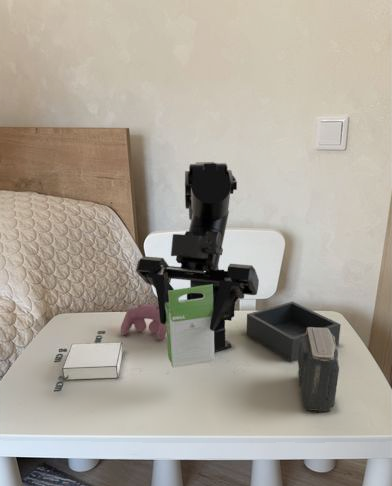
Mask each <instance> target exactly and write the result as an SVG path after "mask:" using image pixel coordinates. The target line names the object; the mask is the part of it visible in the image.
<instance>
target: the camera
mask: <svg viewBox="0 0 392 486" xmlns="http://www.w3.org/2000/svg"><path fill="white" fill-rule="evenodd" d="M297 365H298V371H297V376H298V385H299V388H300V389H299V390H300V395H301V398H302V399H303V401H304V406H305V407H306V409H307V411H310V410H311V411H317V412H320V413H321V412H330V411H333V410H334V409H335V403H336V402H335V401H336V395H337V387H338V379H339V373H340V365H339V350H338V346H336V343H335V337H334V336H333V334H331V332H330V330H329V329H327V328H315V327H308V328H307V329H306V334H305V335H304V336H300V342H299V353H298V360H297Z"/></svg>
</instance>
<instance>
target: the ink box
mask: <svg viewBox="0 0 392 486" xmlns="http://www.w3.org/2000/svg"><path fill="white" fill-rule="evenodd" d="M188 293H202V294H203V295H204V296H203V298H198V299H190V300H187V299H183V300H180V298H181V297H183V296H185V295H186V296H187V294H188ZM168 295H169V302H166V303H165V313H166V330H167V332H166V343H167V344H166V346H167V357H168V360H169V362H170V364H171V368H172V369H174V368H175V369H176V368H179V367H187V366H194V365H198V364H199V365H201V364H205V363H212V362H215V361H216V360H215V359H216V358H215V357H216V356H215V352H214V331H211V330H210V324H211V318H212V314H213V284H211V285H204V286H197V287H183V288H177V289H174V290H169V291H168Z"/></svg>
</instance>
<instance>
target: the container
mask: <svg viewBox="0 0 392 486" xmlns="http://www.w3.org/2000/svg"><path fill="white" fill-rule="evenodd" d="M101 334H102V335H101ZM105 334H107V333H106V330H98V331H97V335H96V336H95V339H94V342H90V343H88V342H87V343H71V345H70V348H69V350H68V349H67V348H59V349H58V353H57V354H56V355H55V358H54V360H53V363H61V362H62V360H63V357H64V355H63V353H67V352H68V353H67V356H66V358H65V361H64V363H63V365H62V369H61V370H62V375H63V376H62V375H59V376H58V380H60V381H57V382H56V384H55V387H54V389H53V392H61V391H62V389H63V387H64V385H65V383H64V382H63V381H78V380H102V379H118V378H119V375H120V370H121V364H122V359H123V354H124V352H123V351H124V350H123V342H122V341H118V342H117V341H115V342H102V339H103V335H105ZM61 379H62V380H63V381H61Z"/></svg>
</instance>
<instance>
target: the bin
mask: <svg viewBox="0 0 392 486" xmlns="http://www.w3.org/2000/svg"><path fill="white" fill-rule="evenodd" d="M308 327H315V328H327V329H329V330H330V332H331V334H333V336H334V337H335V343H336V346H337V347H338V346H339V344H340V343H339V342H340V335H341V334H340V333H341V323H338V322H336V321H335V320H332V319H331V318H328V317H327V316H324V315H322V314H319V313H318V312H315V311H314V310H311V309H309V308H307V307H305V306H304V305H301V304H299V303H297V302H295V301H289V302H286V303H283V304H279V305H275V306H271V307H267V308H264V309H261V310H256V311H252V312H250V313H246V335H247V336H248V337H250V338H251V339H253V340H254V341H256V342H258V343H260V344H262V345H263V346H264V347H266V348H268V349H270V350H271V351H273V352H275V353H276V354H277V355H279V356H281V357H282V358H283V359H285V360H287V361H289V362H291V363H292V362H294V361H298V353H299V342H300V336H304V335H305V334H306V329H307V328H308Z"/></svg>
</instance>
